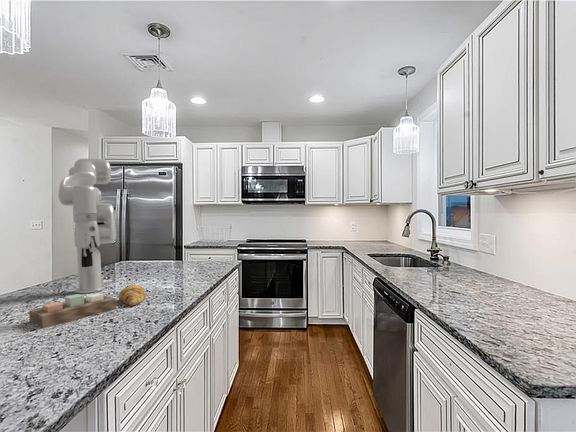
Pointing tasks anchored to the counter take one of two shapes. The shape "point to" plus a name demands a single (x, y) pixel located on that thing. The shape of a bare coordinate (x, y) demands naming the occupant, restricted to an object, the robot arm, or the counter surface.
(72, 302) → the sage key
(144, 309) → the counter surface
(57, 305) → the terracotta key
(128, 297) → the croissant
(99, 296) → the cream cube
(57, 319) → the wooden compartment tray
